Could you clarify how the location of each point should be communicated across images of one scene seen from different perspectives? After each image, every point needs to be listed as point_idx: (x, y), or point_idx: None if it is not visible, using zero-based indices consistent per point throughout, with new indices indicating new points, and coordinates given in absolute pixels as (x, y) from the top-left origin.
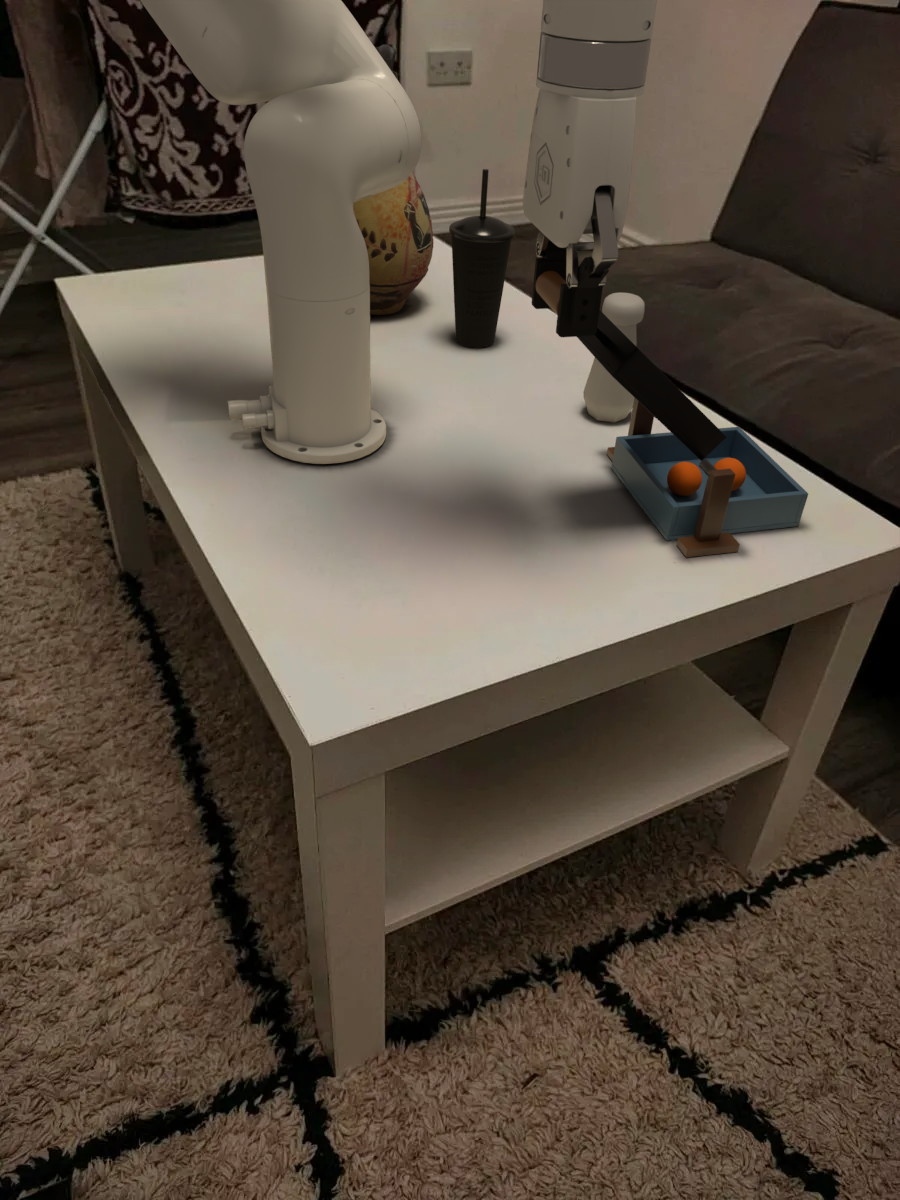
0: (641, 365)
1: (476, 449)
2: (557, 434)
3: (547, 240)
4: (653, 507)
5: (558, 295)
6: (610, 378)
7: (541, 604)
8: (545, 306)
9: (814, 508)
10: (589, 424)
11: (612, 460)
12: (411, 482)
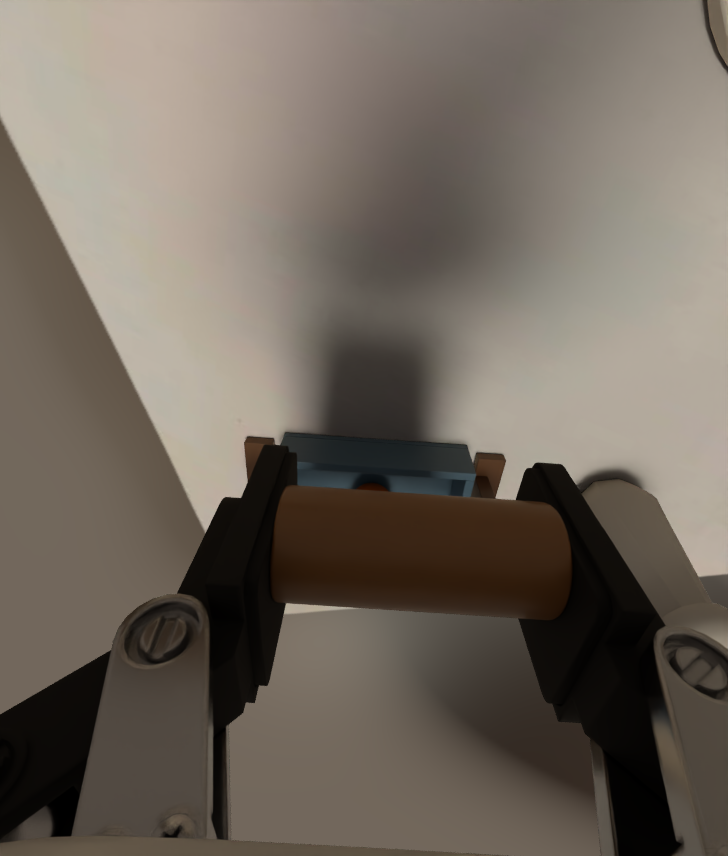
0: None
1: (610, 275)
2: (587, 417)
3: (662, 753)
4: (329, 446)
5: (302, 540)
6: (615, 534)
7: (156, 210)
8: (518, 495)
9: None
10: (590, 467)
11: (482, 454)
12: (560, 98)
